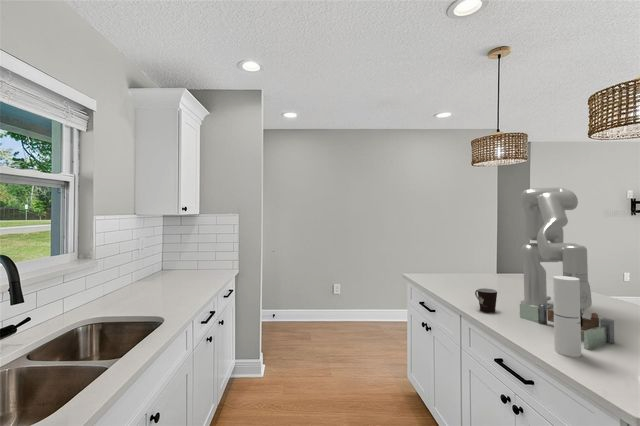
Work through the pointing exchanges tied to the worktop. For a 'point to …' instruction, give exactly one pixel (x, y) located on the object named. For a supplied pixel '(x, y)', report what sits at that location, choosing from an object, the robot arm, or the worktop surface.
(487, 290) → the coffee mug
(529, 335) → the worktop surface
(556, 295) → the cylindrical container
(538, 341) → the worktop surface
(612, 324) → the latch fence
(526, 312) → the hinge post
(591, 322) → the gate
